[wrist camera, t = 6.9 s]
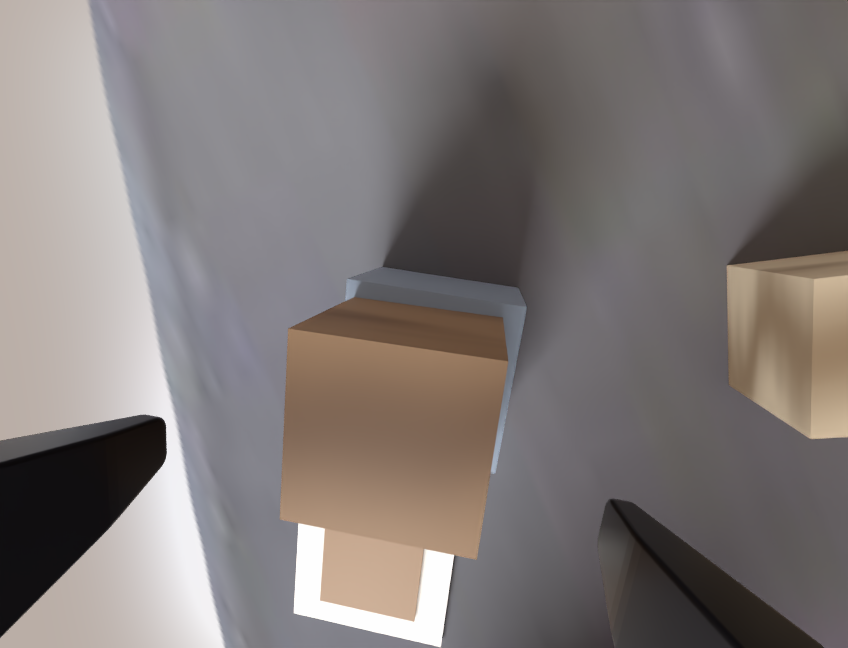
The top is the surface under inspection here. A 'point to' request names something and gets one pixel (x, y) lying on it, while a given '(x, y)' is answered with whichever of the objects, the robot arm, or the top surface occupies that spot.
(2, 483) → the robot arm
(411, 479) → the walnut block
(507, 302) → the base block
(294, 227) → the top surface
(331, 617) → the swatch
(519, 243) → the top surface
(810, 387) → the maple block
